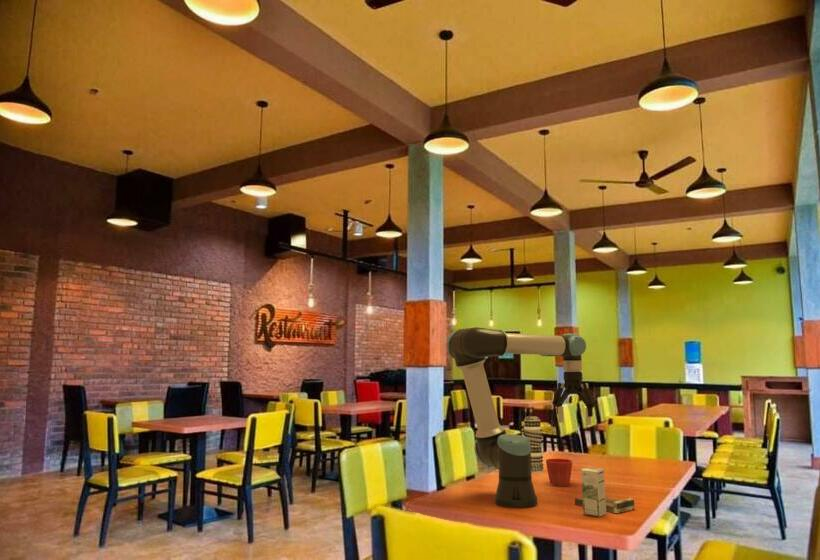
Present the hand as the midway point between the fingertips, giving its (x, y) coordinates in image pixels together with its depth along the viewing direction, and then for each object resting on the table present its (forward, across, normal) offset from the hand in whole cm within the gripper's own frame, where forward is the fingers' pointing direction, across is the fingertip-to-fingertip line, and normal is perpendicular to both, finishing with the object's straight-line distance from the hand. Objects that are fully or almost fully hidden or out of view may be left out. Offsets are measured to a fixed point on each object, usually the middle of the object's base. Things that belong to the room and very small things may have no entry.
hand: (574, 423), depth 238 cm
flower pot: (+25, +9, 0) cm, 27 cm away
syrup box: (+26, -30, +31) cm, 50 cm away
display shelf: (+25, -26, +20) cm, 41 cm away
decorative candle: (+25, +35, -16) cm, 46 cm away
